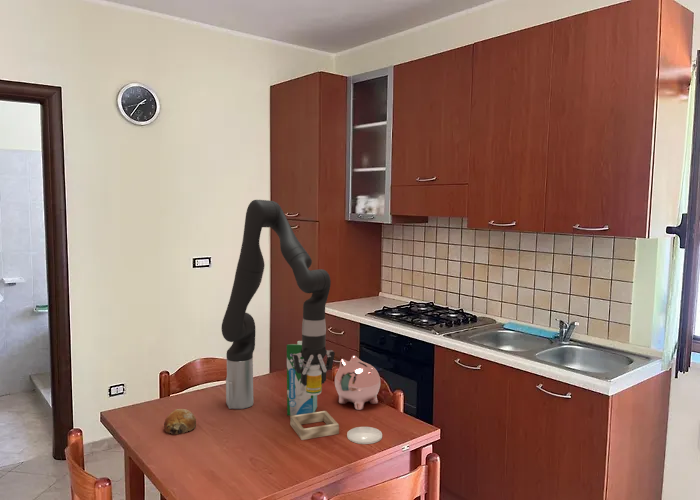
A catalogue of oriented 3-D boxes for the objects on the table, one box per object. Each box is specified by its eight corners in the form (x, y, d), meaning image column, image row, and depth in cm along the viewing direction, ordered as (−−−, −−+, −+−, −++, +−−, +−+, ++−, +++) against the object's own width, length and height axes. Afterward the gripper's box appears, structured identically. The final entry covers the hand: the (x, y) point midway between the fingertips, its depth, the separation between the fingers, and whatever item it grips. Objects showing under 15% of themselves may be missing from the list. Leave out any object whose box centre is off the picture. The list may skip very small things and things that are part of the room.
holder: (301, 440, 171) (301, 430, 171) (290, 424, 183) (290, 415, 182) (338, 433, 176) (338, 424, 176) (325, 419, 187) (325, 410, 187)
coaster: (355, 446, 167) (355, 444, 167) (341, 432, 177) (341, 429, 177) (388, 440, 171) (388, 438, 171) (373, 426, 181) (373, 424, 181)
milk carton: (317, 406, 199) (317, 338, 196) (313, 416, 190) (312, 345, 187) (292, 405, 199) (291, 337, 197) (287, 415, 190) (286, 344, 188)
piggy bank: (353, 390, 215) (353, 350, 214) (388, 402, 203) (389, 360, 201) (324, 401, 204) (324, 358, 203) (360, 414, 192) (360, 369, 190)
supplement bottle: (302, 391, 179) (302, 362, 178) (317, 388, 182) (318, 360, 181) (308, 396, 175) (308, 367, 174) (324, 394, 177) (324, 365, 176)
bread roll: (199, 438, 181) (205, 413, 183) (179, 436, 172) (186, 410, 175) (175, 432, 185) (182, 408, 187) (154, 430, 176) (162, 404, 179)
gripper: (331, 327, 182) (330, 377, 184) (288, 331, 177) (288, 382, 179) (339, 333, 175) (338, 385, 177) (295, 337, 170) (295, 390, 172)
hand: (313, 383), depth 178 cm, fingers closed on supplement bottle, 5 cm apart
